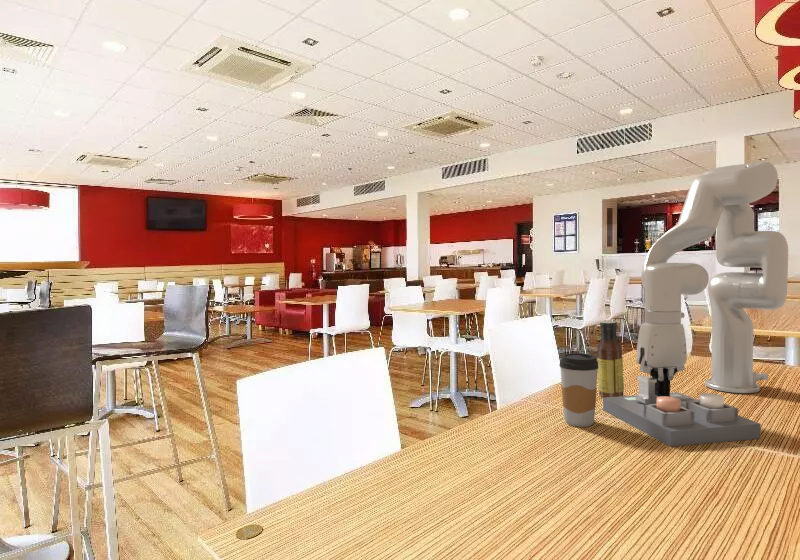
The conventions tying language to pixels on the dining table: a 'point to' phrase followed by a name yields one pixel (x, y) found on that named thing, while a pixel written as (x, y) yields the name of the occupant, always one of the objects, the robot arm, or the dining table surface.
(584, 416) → the coffee cup
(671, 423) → the control panel
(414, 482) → the dining table surface
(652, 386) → the slider knob
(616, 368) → the sauce bottle
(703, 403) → the offwhite button
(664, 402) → the terracotta button
